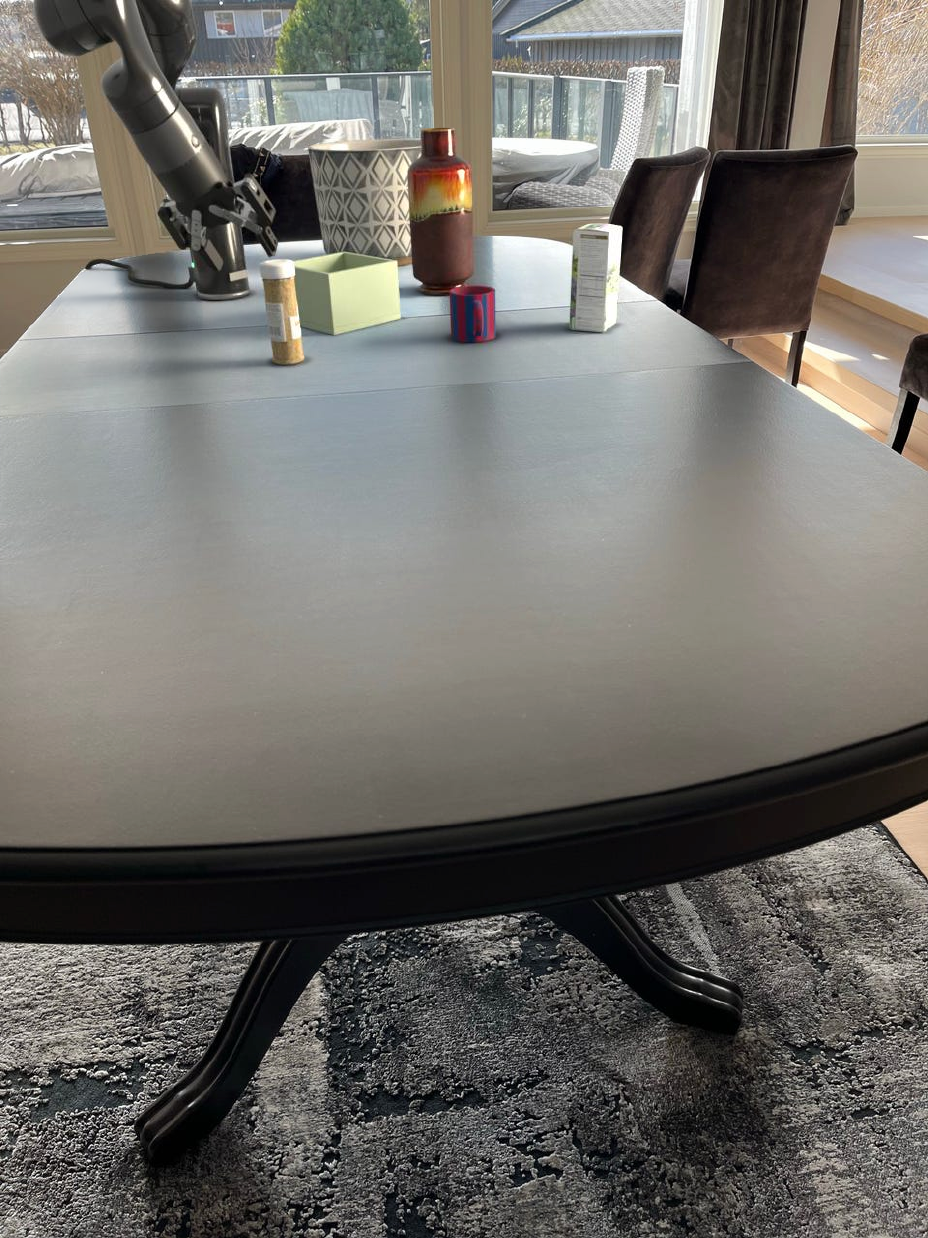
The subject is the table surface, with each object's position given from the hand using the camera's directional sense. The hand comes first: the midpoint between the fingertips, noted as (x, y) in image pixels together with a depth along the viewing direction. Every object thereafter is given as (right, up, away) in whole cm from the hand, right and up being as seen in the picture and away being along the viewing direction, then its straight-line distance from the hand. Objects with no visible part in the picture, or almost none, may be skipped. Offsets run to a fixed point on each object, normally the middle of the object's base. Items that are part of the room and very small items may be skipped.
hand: (246, 260), depth 126 cm
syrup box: (+49, -3, +19) cm, 53 cm away
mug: (+31, -7, +15) cm, 35 cm away
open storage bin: (+9, +1, +28) cm, 29 cm away
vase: (+26, +11, +45) cm, 53 cm away
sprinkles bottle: (+4, -12, +7) cm, 14 cm away
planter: (+12, +27, +72) cm, 78 cm away
